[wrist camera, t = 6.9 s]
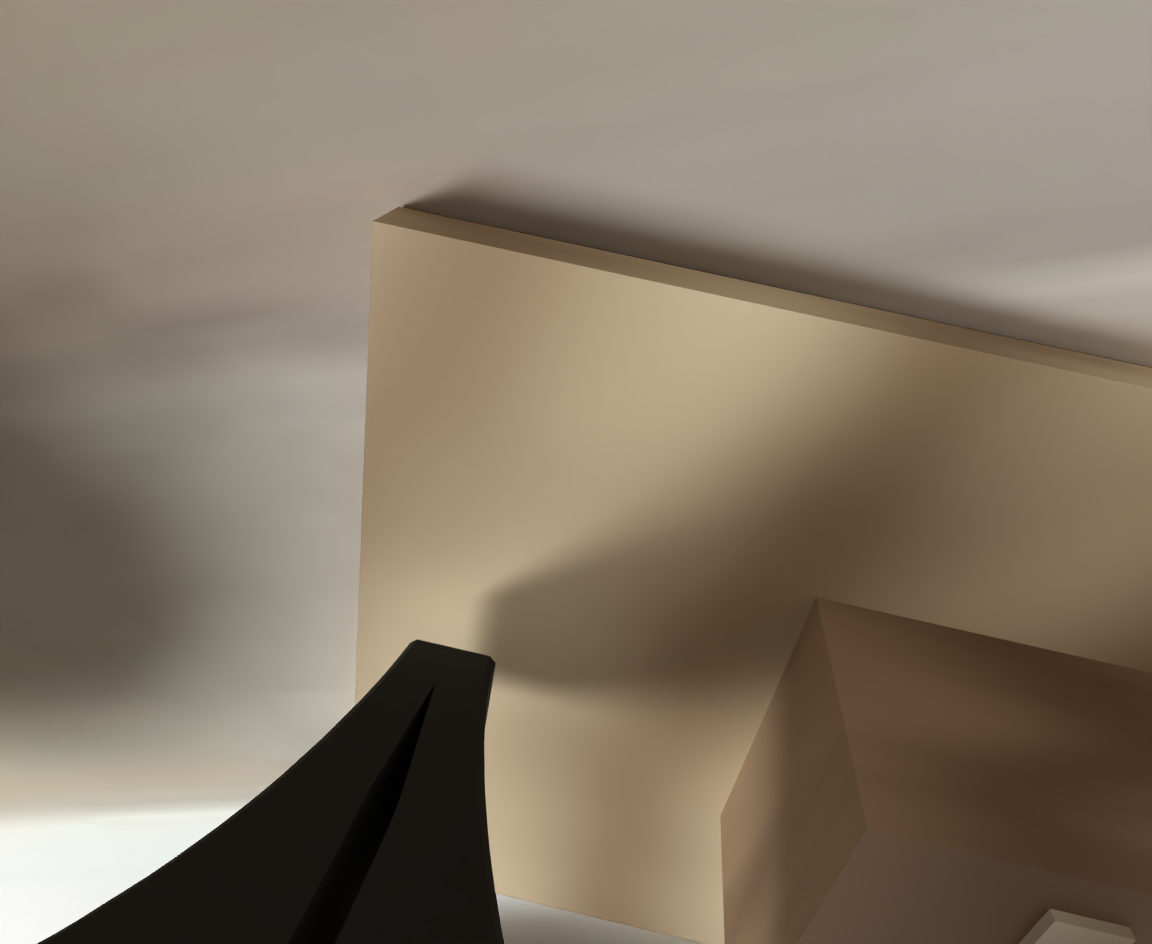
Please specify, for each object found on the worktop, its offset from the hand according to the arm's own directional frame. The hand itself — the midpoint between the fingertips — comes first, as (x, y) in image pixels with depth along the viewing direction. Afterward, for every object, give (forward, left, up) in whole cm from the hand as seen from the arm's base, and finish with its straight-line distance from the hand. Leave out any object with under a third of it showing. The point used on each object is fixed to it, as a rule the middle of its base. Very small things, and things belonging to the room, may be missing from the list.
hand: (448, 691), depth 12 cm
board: (-10, 0, -2) cm, 10 cm away
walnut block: (-8, 0, -1) cm, 8 cm away
